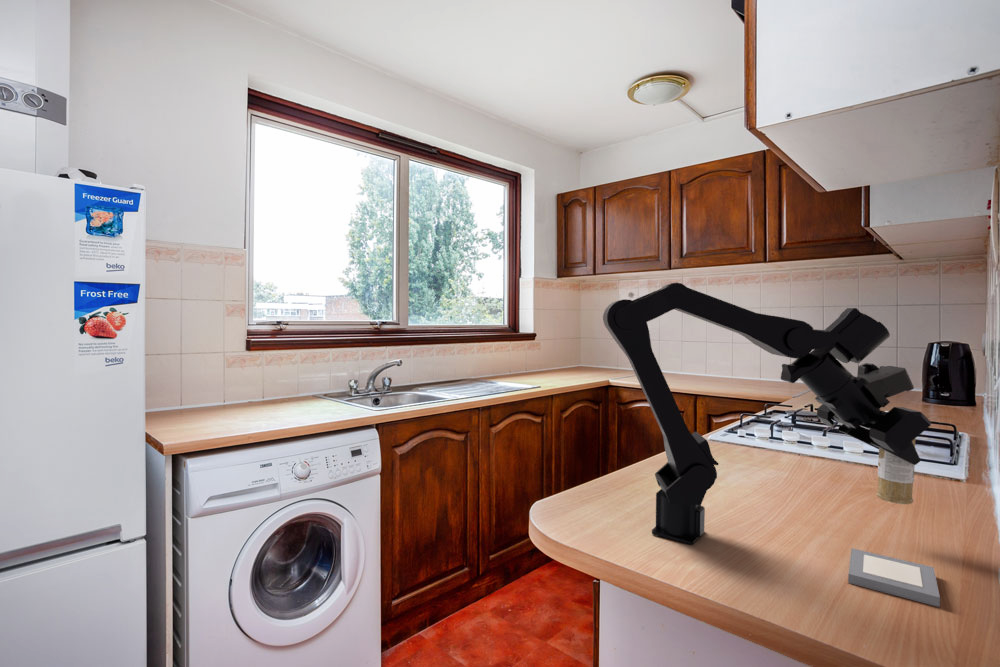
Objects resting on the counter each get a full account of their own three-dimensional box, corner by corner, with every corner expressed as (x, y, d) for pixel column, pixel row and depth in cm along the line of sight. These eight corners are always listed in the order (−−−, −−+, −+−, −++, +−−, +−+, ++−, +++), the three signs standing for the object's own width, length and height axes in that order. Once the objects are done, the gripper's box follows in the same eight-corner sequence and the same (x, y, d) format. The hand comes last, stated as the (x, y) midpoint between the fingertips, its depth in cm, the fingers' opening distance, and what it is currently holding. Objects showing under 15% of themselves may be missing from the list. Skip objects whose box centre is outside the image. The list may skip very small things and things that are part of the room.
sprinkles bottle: (879, 492, 80) (883, 409, 79) (916, 500, 76) (920, 413, 76) (872, 499, 77) (876, 412, 76) (910, 508, 73) (915, 417, 73)
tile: (848, 582, 65) (848, 573, 65) (851, 556, 72) (851, 547, 72) (939, 607, 60) (939, 596, 60) (933, 575, 67) (933, 566, 67)
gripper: (918, 352, 67) (1004, 437, 66) (838, 344, 85) (905, 410, 84) (853, 408, 68) (936, 493, 67) (788, 388, 86) (853, 454, 86)
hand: (906, 458), depth 76 cm, fingers closed on sprinkles bottle, 4 cm apart
